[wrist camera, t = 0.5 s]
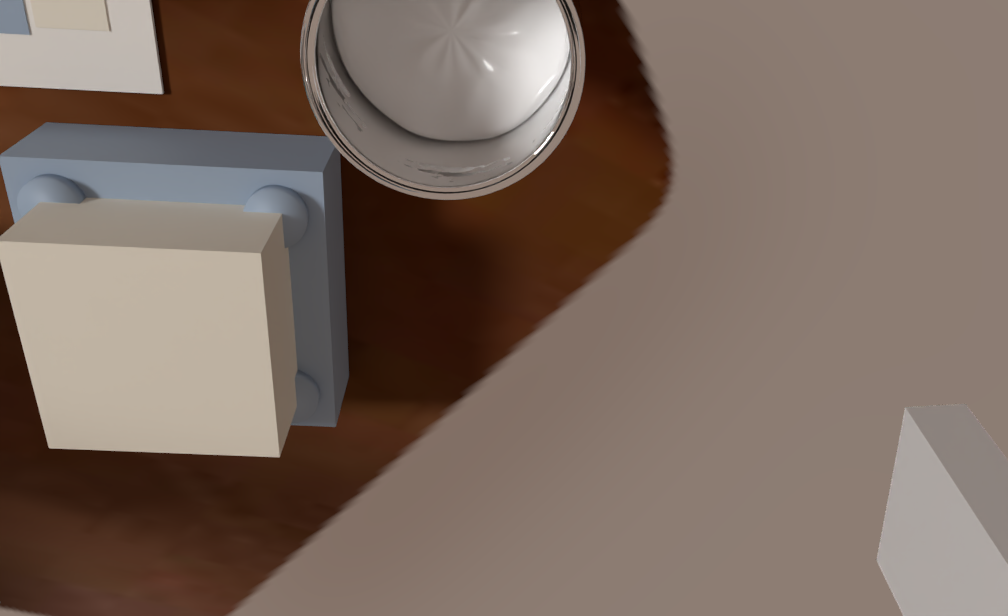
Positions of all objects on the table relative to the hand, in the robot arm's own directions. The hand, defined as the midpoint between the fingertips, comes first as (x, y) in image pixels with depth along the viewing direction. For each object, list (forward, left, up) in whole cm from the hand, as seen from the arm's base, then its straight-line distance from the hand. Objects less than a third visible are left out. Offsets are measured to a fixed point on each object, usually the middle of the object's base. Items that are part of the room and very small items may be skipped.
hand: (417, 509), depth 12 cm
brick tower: (-11, -10, -26) cm, 30 cm away
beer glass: (0, +3, -26) cm, 26 cm away
